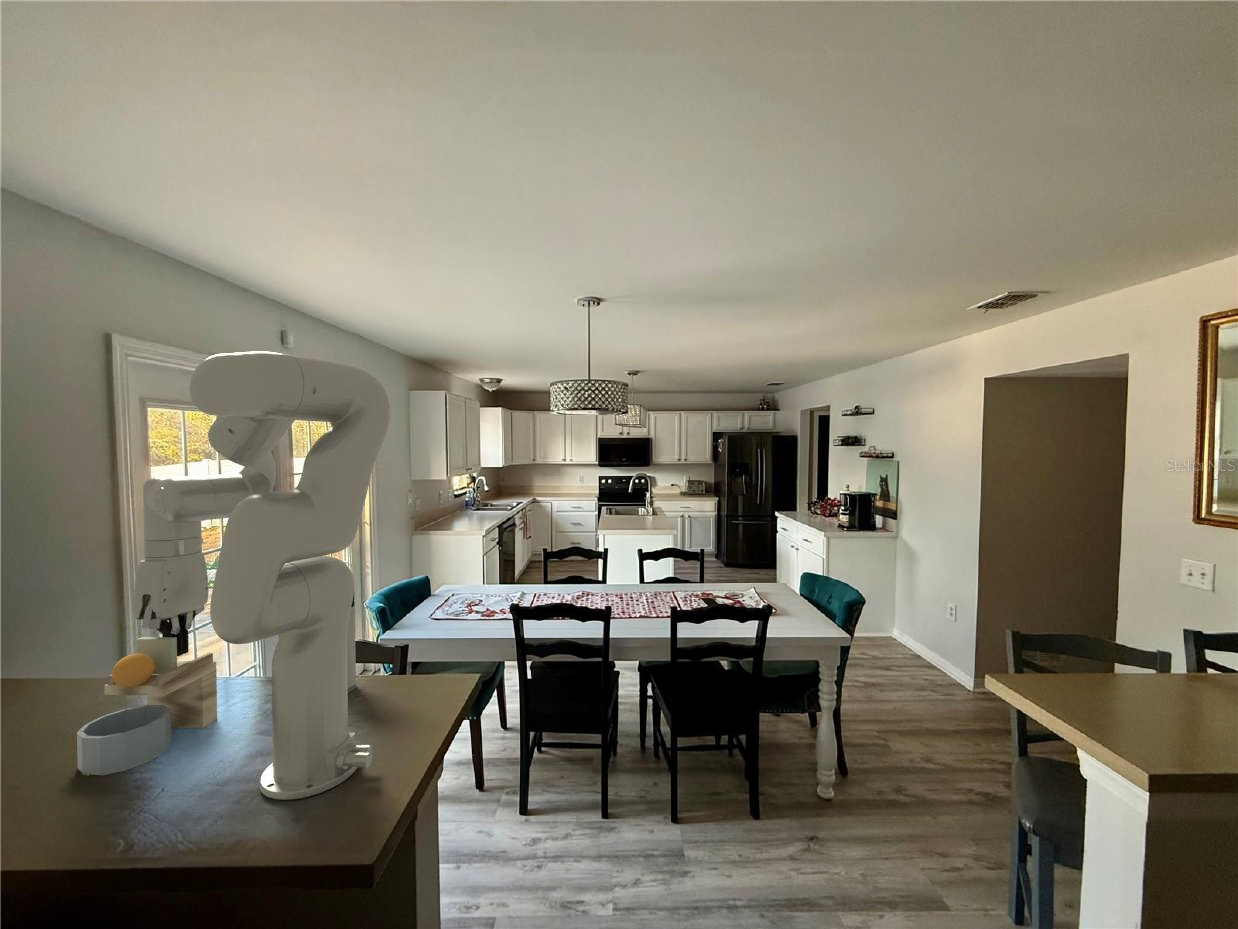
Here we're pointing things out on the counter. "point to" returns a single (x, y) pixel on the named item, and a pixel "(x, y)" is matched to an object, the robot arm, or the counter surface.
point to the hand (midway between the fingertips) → (175, 654)
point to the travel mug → (351, 651)
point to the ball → (133, 670)
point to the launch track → (180, 692)
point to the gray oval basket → (123, 739)
